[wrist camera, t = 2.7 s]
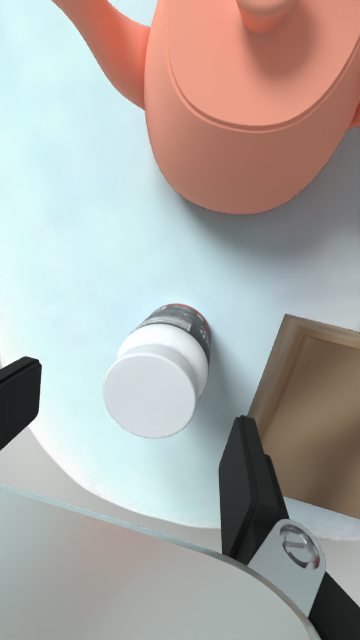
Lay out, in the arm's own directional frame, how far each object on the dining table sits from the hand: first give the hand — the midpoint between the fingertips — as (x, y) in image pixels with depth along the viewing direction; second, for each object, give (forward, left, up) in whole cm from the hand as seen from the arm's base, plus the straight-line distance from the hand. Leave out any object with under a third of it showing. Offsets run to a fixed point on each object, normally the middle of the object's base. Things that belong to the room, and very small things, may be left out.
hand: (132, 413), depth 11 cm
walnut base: (-15, +3, -11) cm, 19 cm away
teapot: (0, -16, -11) cm, 20 cm away
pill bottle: (0, 0, -11) cm, 11 cm away
